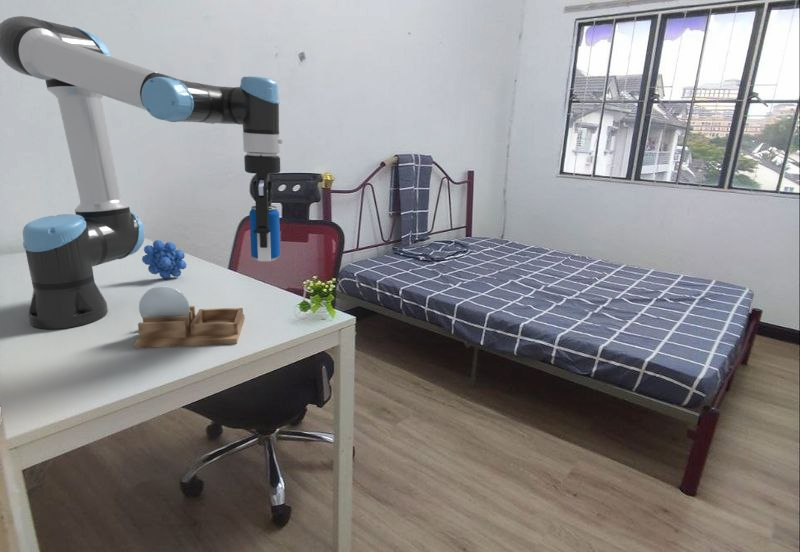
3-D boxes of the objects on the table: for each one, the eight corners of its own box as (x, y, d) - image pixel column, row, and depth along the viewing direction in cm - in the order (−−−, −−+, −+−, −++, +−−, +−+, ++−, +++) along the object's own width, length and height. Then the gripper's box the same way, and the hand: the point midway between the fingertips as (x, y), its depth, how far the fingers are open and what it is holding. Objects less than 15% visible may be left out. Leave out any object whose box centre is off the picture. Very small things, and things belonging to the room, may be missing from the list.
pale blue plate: (141, 330, 101) (136, 287, 98) (143, 329, 102) (137, 286, 99) (190, 329, 103) (186, 286, 100) (191, 327, 104) (187, 285, 101)
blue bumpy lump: (145, 285, 133) (140, 244, 130) (144, 278, 139) (139, 239, 135) (189, 280, 139) (185, 241, 135) (186, 274, 144) (183, 236, 141)
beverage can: (286, 258, 109) (285, 207, 105) (265, 264, 104) (263, 210, 100) (266, 253, 112) (264, 204, 108) (245, 258, 107) (242, 206, 103)
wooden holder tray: (135, 348, 96) (132, 327, 95) (155, 321, 109) (153, 303, 108) (236, 343, 100) (235, 323, 99) (244, 318, 113) (243, 300, 112)
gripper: (277, 157, 92) (280, 268, 99) (281, 152, 111) (284, 246, 117) (238, 156, 91) (243, 268, 98) (249, 151, 109) (253, 246, 116)
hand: (265, 256), depth 108 cm, fingers closed on beverage can, 6 cm apart
